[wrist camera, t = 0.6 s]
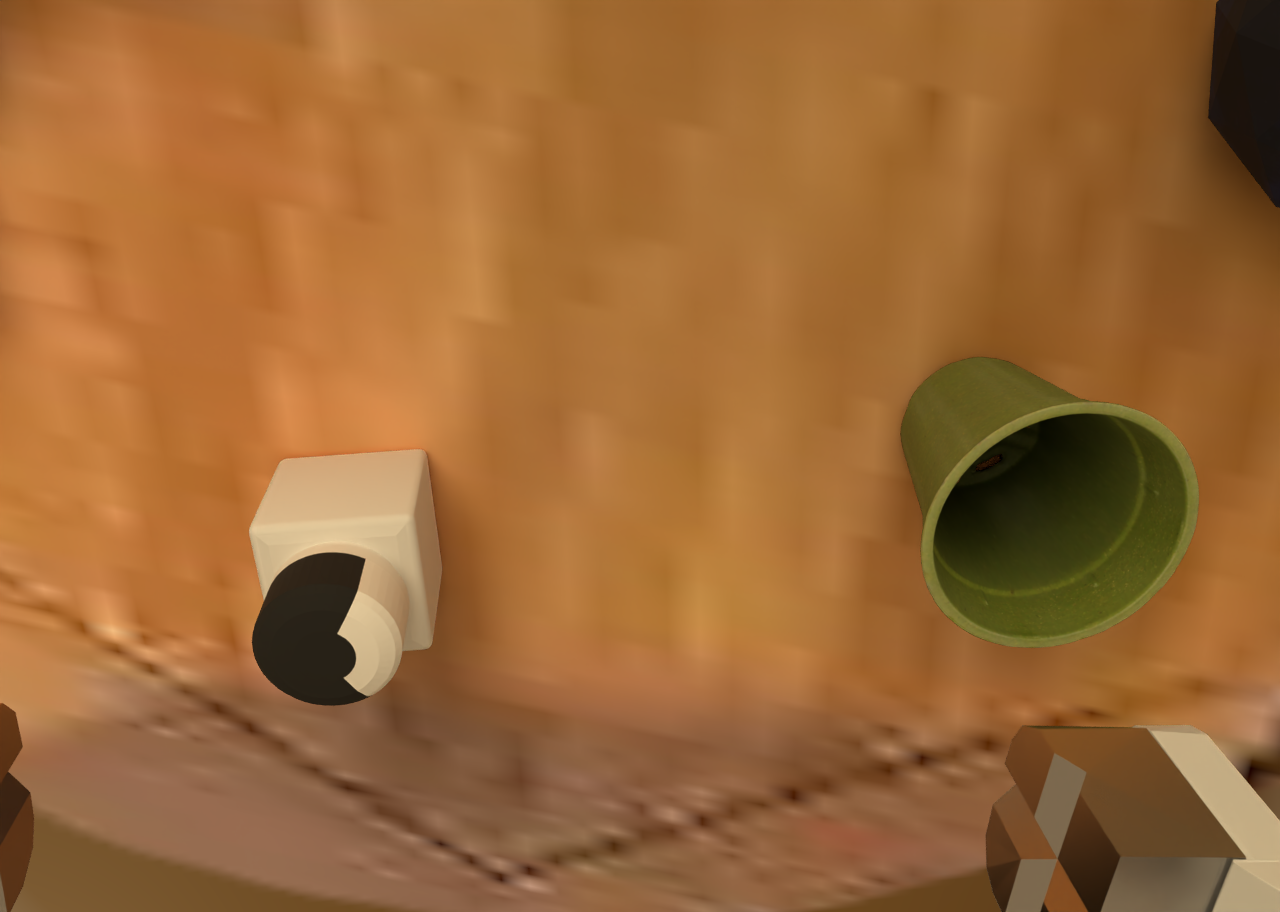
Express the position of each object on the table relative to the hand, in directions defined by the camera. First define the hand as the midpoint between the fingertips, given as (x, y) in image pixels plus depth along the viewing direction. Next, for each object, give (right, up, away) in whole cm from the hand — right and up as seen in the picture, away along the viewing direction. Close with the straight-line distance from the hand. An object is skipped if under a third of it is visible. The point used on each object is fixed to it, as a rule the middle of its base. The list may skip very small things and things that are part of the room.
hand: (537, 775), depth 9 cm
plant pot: (+17, +4, +48) cm, 52 cm away
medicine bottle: (-13, 0, +48) cm, 50 cm away
